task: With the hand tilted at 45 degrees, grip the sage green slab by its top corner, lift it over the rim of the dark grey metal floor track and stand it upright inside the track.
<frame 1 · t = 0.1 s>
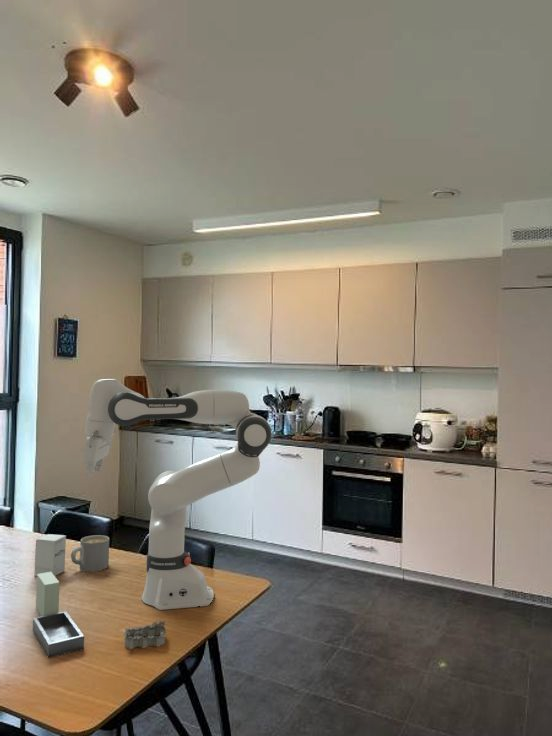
hand: (93, 473, 174), 39 cm above the table, tool pointing down, fingers open, 8 cm apart
coffee mug: (89, 568, 200), on the table
supplement box: (49, 574, 193), on the table
track: (57, 639, 146), on the table
egg carton: (144, 643, 146), on the table
sage green slab: (46, 612, 162), on the table
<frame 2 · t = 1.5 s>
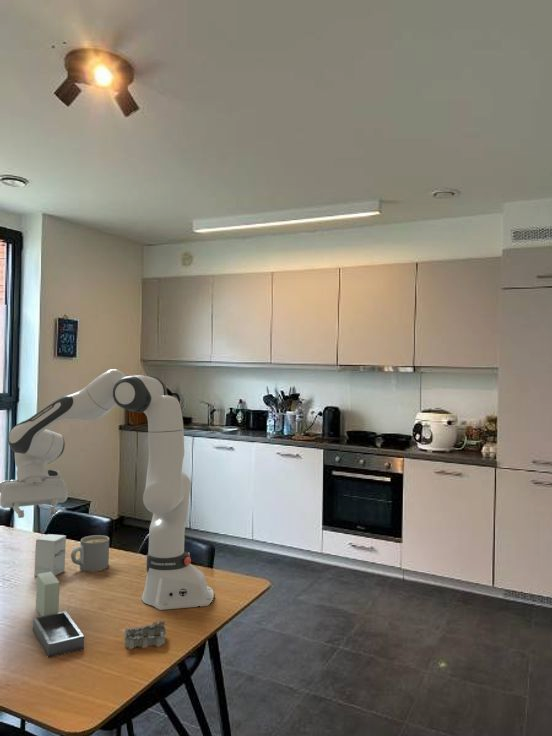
hand: (37, 515, 176), 25 cm above the table, tool tilted 45°, fingers open, 8 cm apart
nothing on the table moved.
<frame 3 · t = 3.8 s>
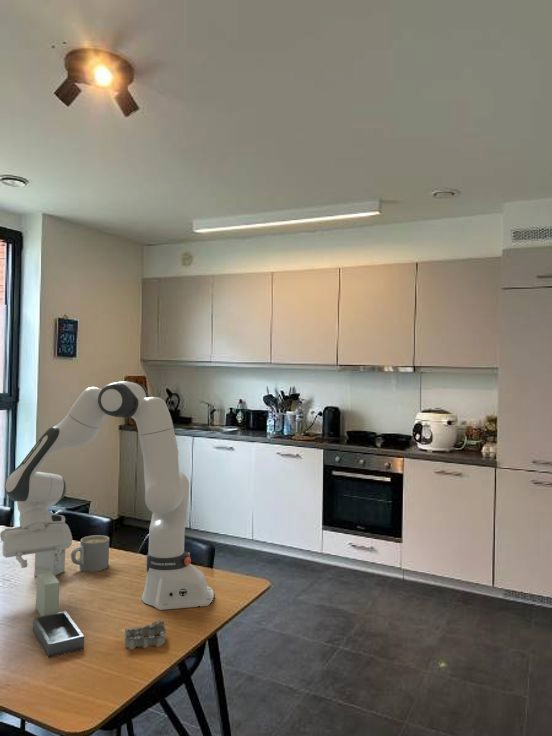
hand: (41, 564, 170), 11 cm above the table, tool tilted 45°, fingers open, 8 cm apart
nothing on the table moved.
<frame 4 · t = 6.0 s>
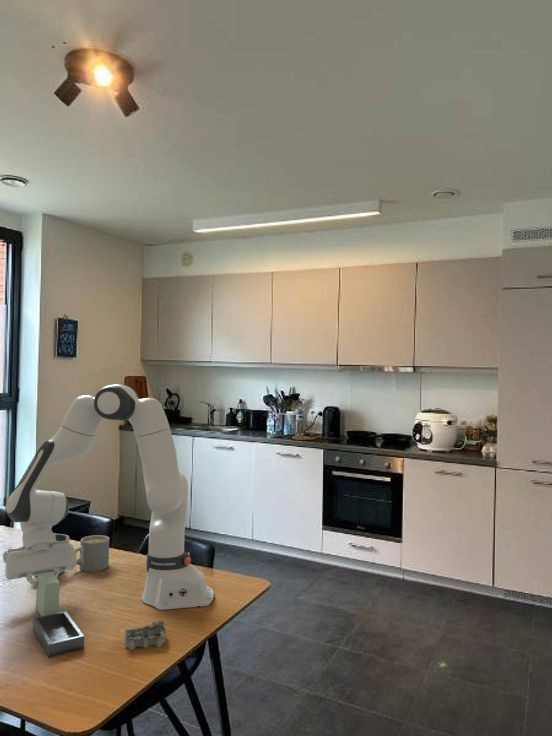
hand: (45, 586, 165), 6 cm above the table, tool tilted 45°, fingers closed on sage green slab, 4 cm apart
sage green slab: (46, 612, 162), on the table, touching gripper
everything else where it was.
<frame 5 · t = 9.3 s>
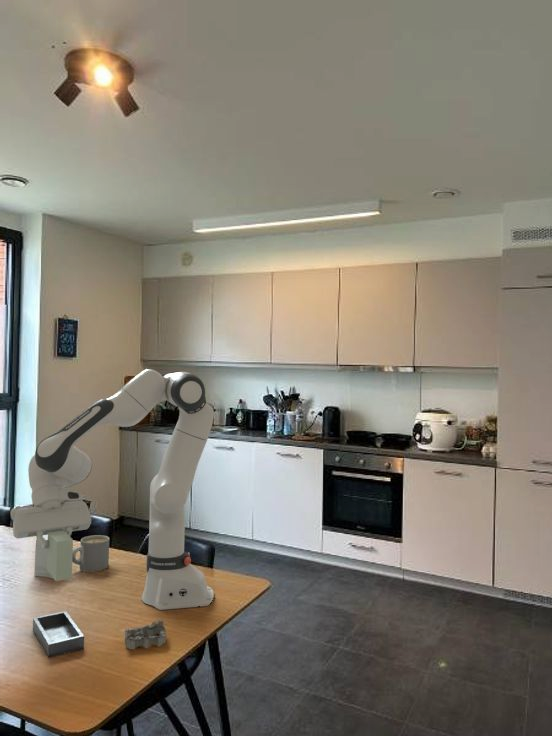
hand: (56, 546, 150), 23 cm above the table, tool tilted 45°, fingers closed on sage green slab, 4 cm apart
sage green slab: (59, 573, 147), point 17 cm above the table, touching gripper
everything else where it was.
when the fingers open (9 cm above the table, at t = 12.6 s): sage green slab drops 1 cm, resting on track.
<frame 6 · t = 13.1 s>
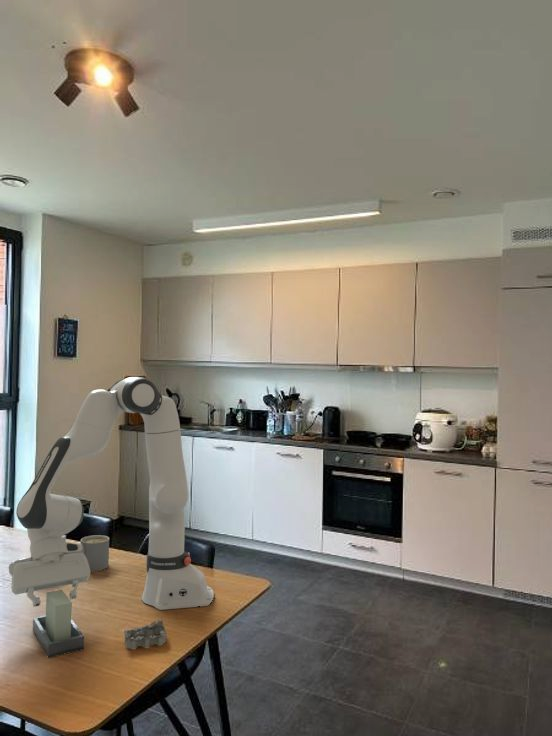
hand: (55, 601, 149), 9 cm above the table, tool tilted 45°, fingers open, 8 cm apart
sage green slab: (57, 635, 146), point 1 cm above the table, touching track
everything else where it was.
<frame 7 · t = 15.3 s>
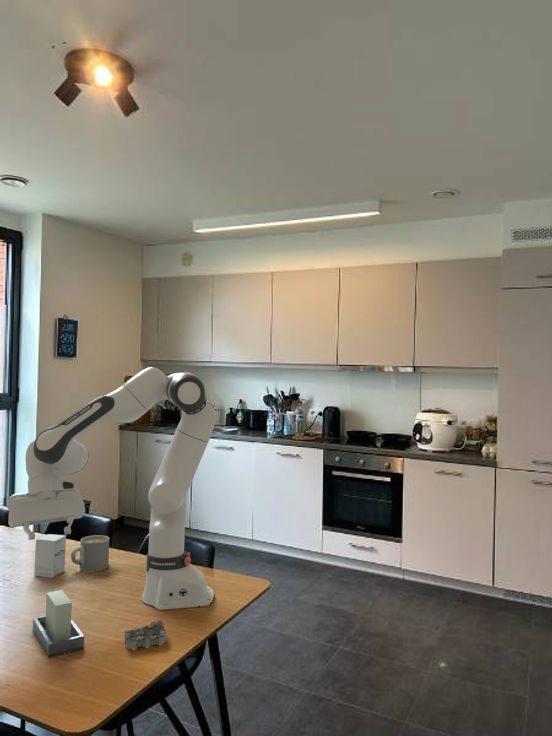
hand: (50, 536, 155), 24 cm above the table, tool tilted 35°, fingers open, 8 cm apart
nothing on the table moved.
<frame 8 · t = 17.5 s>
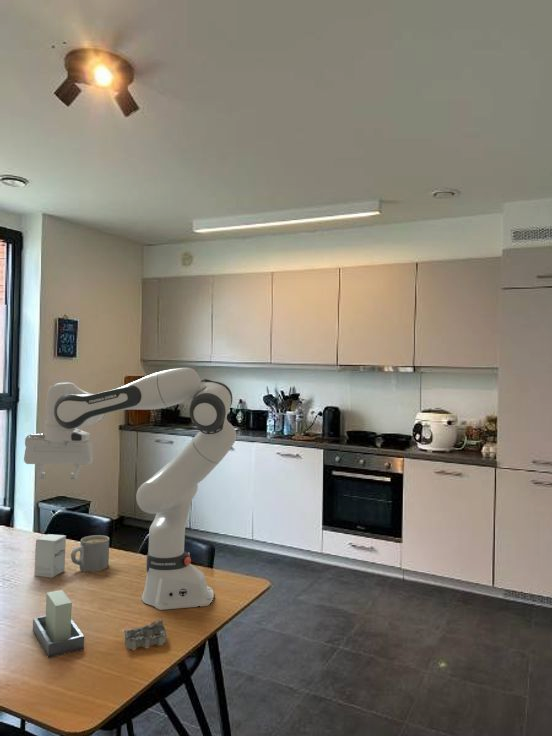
hand: (58, 478, 173), 37 cm above the table, tool pointing down, fingers open, 8 cm apart
nothing on the table moved.
at the end: sage green slab inside the target area on the track (0.3 cm from its centre), point 0.8 cm above the track's base; sage green slab tilted 0°; the gripper is holding nothing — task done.
